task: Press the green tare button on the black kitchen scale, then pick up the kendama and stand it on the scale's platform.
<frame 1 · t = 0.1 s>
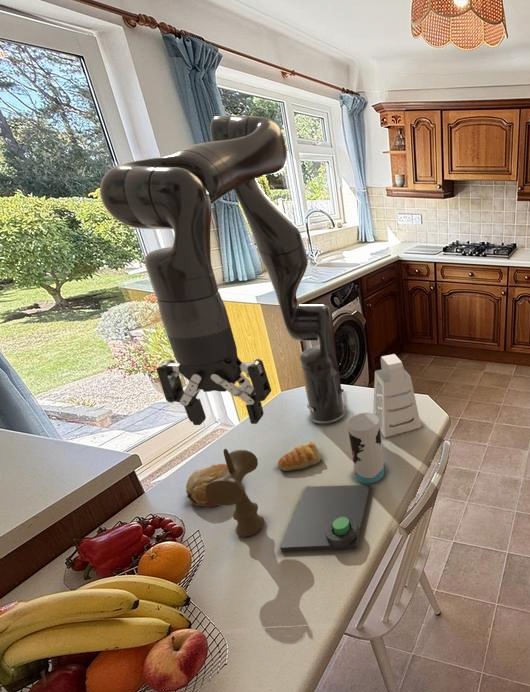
hand: (228, 421, 64), 29 cm above the countertop, tool pointing down, fingers open, 8 cm apart
grater: (396, 422, 115), on the countertop
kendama: (251, 528, 81), on the countertop
tare button: (341, 526, 78), point 3 cm above the countertop, slide at 0.1 cm
pastry: (303, 462, 99), on the countertop
scale: (330, 517, 84), on the countertop
bread roll: (216, 491, 90), on the countertop
cup: (370, 474, 96), on the countertop
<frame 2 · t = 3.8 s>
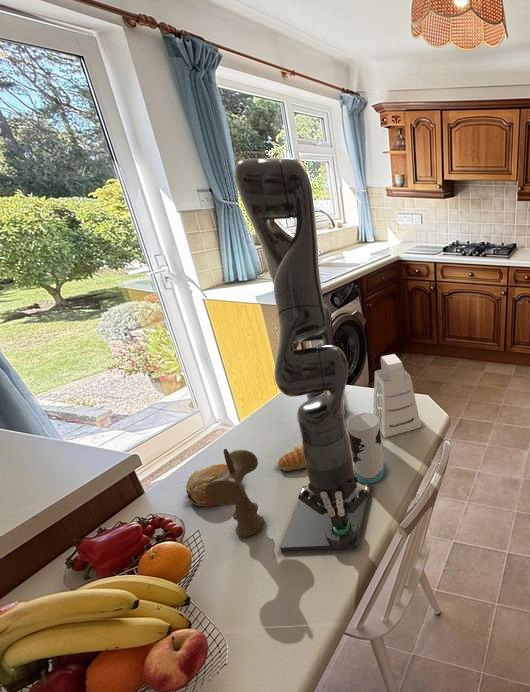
hand: (341, 525, 78), 4 cm above the countertop, tool pointing down, fingers closed
tare button: (341, 528, 78), point 3 cm above the countertop, slide at -0.6 cm, touching gripper
everything else where it was.
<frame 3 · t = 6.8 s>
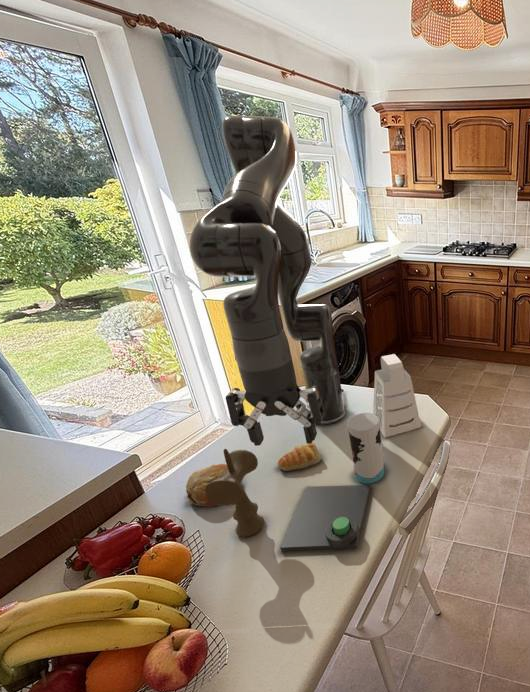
hand: (285, 441, 70), 23 cm above the countertop, tool pointing down, fingers open, 8 cm apart
tare button: (341, 526, 78), point 3 cm above the countertop, slide at 0.1 cm
everything else where it was.
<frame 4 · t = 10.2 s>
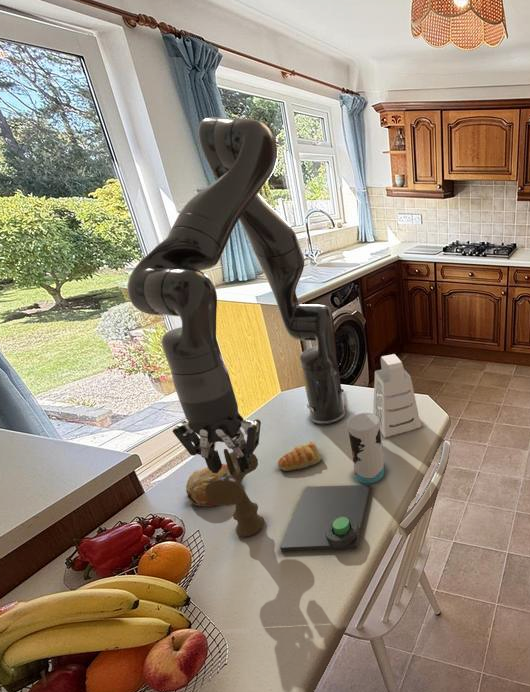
hand: (231, 469, 74), 15 cm above the countertop, tool pointing down, fingers closed on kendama, 4 cm apart
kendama: (251, 528, 81), on the countertop, touching gripper
everything else where it was.
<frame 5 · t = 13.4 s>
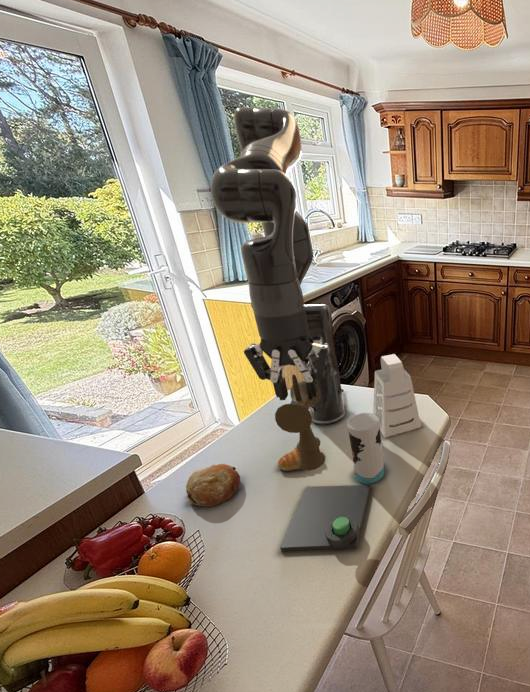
hand: (298, 397, 73), 28 cm above the countertop, tool pointing down, fingers closed on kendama, 4 cm apart
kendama: (312, 464, 80), point 13 cm above the countertop, touching gripper
everything else where it was.
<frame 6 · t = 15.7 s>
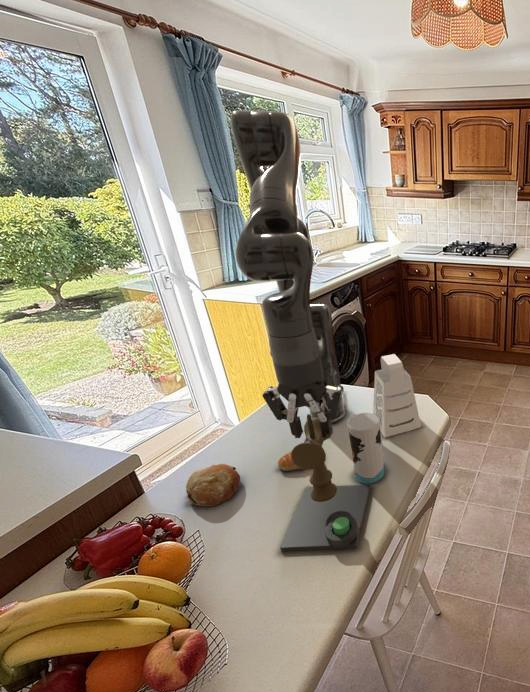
hand: (312, 434, 77), 20 cm above the countertop, tool pointing down, fingers closed on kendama, 4 cm apart
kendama: (324, 495, 84), point 4 cm above the countertop, touching gripper
everything else where it was.
when the fingers open (17 cm above the countertop, at t = 17.1 s): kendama stays where it is, resting on scale.
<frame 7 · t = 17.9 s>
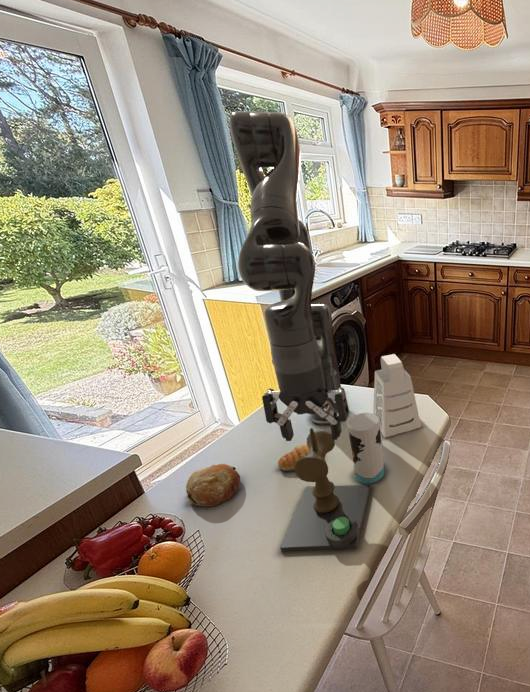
hand: (313, 438, 77), 19 cm above the countertop, tool pointing down, fingers open, 8 cm apart
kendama: (326, 506, 86), point 1 cm above the countertop, touching scale
everything else where it was.
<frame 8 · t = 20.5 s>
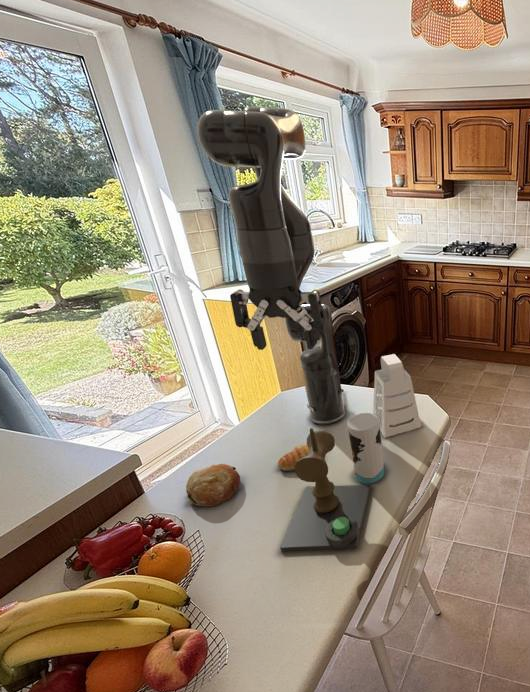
hand: (287, 347, 73), 36 cm above the countertop, tool pointing down, fingers open, 8 cm apart
nothing on the countertop moved.
at the end: tare button pushed in 1.1 cm at the most during the clip, back to where it started at the end; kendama inside the target area on the scale (2.3 cm from its centre), point 1.0 cm above the scale's base; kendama touching scale; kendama tilted 0° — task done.
